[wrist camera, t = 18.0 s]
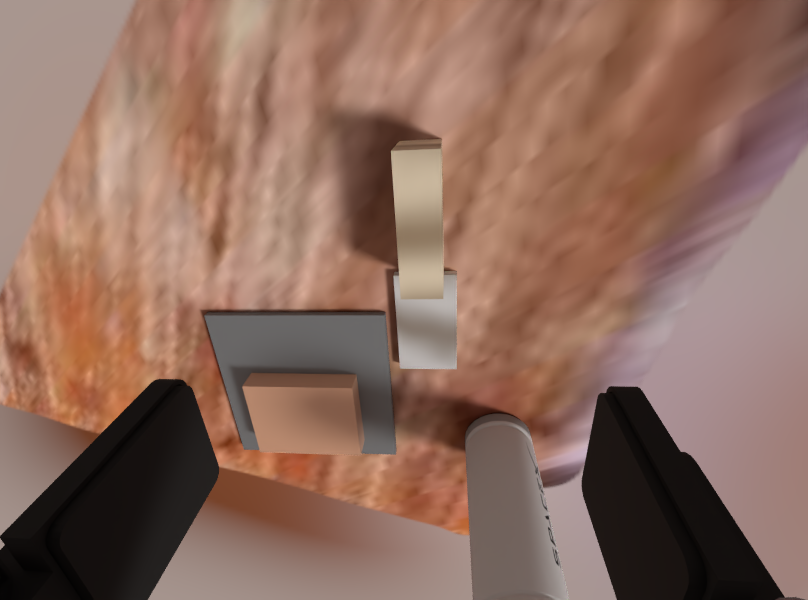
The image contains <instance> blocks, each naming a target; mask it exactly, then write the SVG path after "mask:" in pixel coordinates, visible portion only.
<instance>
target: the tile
mask: <svg viewBox="0 0 808 600" xmlns="http://www.w3.org/2000/svg"><path fill="white" fill-rule="evenodd" d="M242 388H243V391H244V395H245V399H246V402H247V406H248V409H249V413H250V417H251V420H252V424H253V428H254V431H255V435H256V439H257V442H258V446H259V449H260V452H274V453H303V454H332V455H361V453H362V449H363V445H364V440H365V439H364V431H363V423H362V415H361V407H360V399H359V391H358V383H357V375H356V374H294V373H251V374H250V376H249V377H248V378H247V380H246V381H245V383H244V384H243V386H242Z"/></svg>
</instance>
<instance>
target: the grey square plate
mask: <svg viewBox="0 0 808 600" xmlns="http://www.w3.org/2000/svg"><path fill="white" fill-rule="evenodd" d="M204 317H205V320H206V323H207V327H208V330H209V333H210V337H211V340H212V343H213V347H214V350H215V354H216V357H217V360H218V364H219V367H220V370H221V374H222V377H223V380H224V384H225V387H226V390H227V394H228V397H229V401H230V404H231V407H232V411H233V414H234V417H235V421H236V424H237V427H238V431H239V434H240V438H241V441H242V444H243V448H244V449H246V450H260V449H259V446H258V442H257V439H256V435H255V431H254V428H253V424H252V420H251V417H250V413H249V409H248V406H247V402H246V399H245V395H244V391H243V388H242V386H243V384H244V383H245V381H246V380H247V378H248V377H249V376H250V374H251V373H294V374H356V375H357V383H358V391H359V399H360V407H361V415H362V423H363V431H364V439H365V440H364V445H363V449H362V453H365V454H395V455H396V439H395V426H394V414H393V402H392V389H391V377H390V364H389V352H388V339H387V327H386V314H385V312H207V313H206V314H205V315H204Z"/></svg>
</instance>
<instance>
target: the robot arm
mask: <svg viewBox="0 0 808 600" xmlns="http://www.w3.org/2000/svg"><path fill="white" fill-rule="evenodd" d="M218 474H219V466H218V462H217V459H216V456H215V454H214V451H213V448H212V445H211V442H210V439H209V436H208V433H207V430H206V427H205V424H204V421H203V418H202V416H201V413H200V410H199V407H198V404H197V401H196V398H195V395H194V392H193V390H192V388H191V387H190V386H187V385H186V383H185V382H184V381H183V380H178V379H158V380H155V381H153V382H152V383H151V384H150V385H149V386H148V387H147V388H146V389H145V390H144V391H143V392H142V393H141V394H140V395H139V396H138V397H137V398H136V399H135V400H134V401H133V402H132V403H131V404H130V405H129V406H128V407H127V408H126V409H125V410H124V411H123V412H122V413H121V414H120V415H119V416H118V417H117V418H116V419H115V420H114V421H113V422H112V423H111V424H110V425H109V426H108V427H107V428H106V429H105V430H104V431H103V432H102V433H101V434H100V435H99V436H98V437H97V438H96V439H95V441H94V442H93V443H92V444H91V445H90V446H89V447H88V448H87V449H86V450H85V451H84V452H83V453H82V454H81V455H80V456H79V457H78V458H77V459H76V460H75V461H74V462H73V463H72V464H71V465H70V466H69V467H68V468H67V469H66V470H65V471H64V472H63V473H62V474H61V475H60V476H59V477H58V478H57V479H56V480H55V481H54V482H53V483H52V484H51V485H50V486H49V487H48V488H47V489H46V490H45V491H44V492H43V493H42V494H41V495H40V496H39V497H38V498H37V499H36V500H35V501H34V502H33V503H32V504H31V505H30V506H29V507H28V508H27V509H26V510H25V511H24V512H23V514H21V516H19V517H18V519H16V521H15V522H14V523H13V524H12V525H11V526H10V527H9V528H8V529H7V530H6V531H5V532H4V533H3V534H2V535H1V536H0V538H1V540H2V541H3V543H4V544H5V546H4V547H3V548H2V549H1V550H0V600H148V598H149V597H150V595H151V593H152V591H153V590H154V588H155V586H156V584H157V583H158V581H159V579H160V578H161V576H162V574H163V572H164V571H165V569H166V567H167V566H168V564H169V562H170V560H171V558H172V557H173V555H174V553H175V551H176V550H177V548H178V547H179V545H180V543H181V541H182V540H183V538H184V536H185V534H186V533H187V531H188V529H189V528H190V526H191V524H192V522H193V521H194V519H195V517H196V516H197V514H198V512H199V510H200V509H201V507H202V505H203V503H204V502H205V500H206V498H207V497H208V495H209V493H210V491H211V490H212V488H213V486H214V484H215V483H216V481H217V478H218ZM582 492H583V497H584V500H585V503H586V506H587V509H588V512H589V515H590V518H591V522H592V524H593V528H594V531H595V534H596V537H597V540H598V543H599V546H600V549H601V552H602V555H603V558H604V561H605V564H606V567H607V570H608V573H609V576H610V579H611V583H612V585H613V589H614V592H615V595H616V598H617V600H804V599H800V598H796V597H787V598H785V597H784V595H783V594H782V592H781V591H780V589H779V588H778V586H777V585H776V583H775V582H774V580H773V579H772V577H771V575H770V574H769V573H768V571H767V569H766V568H765V566H764V565H763V563H762V562H761V560H760V559H759V557H758V556H757V554H756V553H755V551H754V550H753V548H752V547H751V545H750V544H749V542H748V540H747V539H746V537H745V536H744V534H743V533H742V531H741V530H740V528H739V527H738V525H737V524H736V522H735V520H734V519H733V517H732V516H731V515H730V513H729V511H728V510H727V508H726V507H725V505H724V504H723V503H722V501H721V499H720V498H719V496H718V495H717V493H716V491H715V490H714V488H713V487H712V485H711V484H710V482H709V481H708V479H707V478H706V476H705V475H704V473H703V472H702V470H701V468H700V467H699V465H698V464H697V463H696V461H695V460H694V459H693V458H692V457H691V455H689V454H687V453H686V452H680V450H679V449H678V447H677V445H676V444H675V442H674V441H673V439H672V437H671V436H670V434H669V433H668V431H667V429H666V428H665V426H664V425H663V423H662V422H661V420H660V418H659V417H658V415H657V414H656V412H655V411H654V409H653V407H652V406H651V404H650V403H649V401H648V400H647V398H646V396H645V395H644V393H643V392H642V390H641V389H640V388H638V387H614V386H611V387H609V388H608V389H607V392H606V393H600V394H599V395H598V399H597V404H596V409H595V414H594V419H593V424H592V430H591V435H590V440H589V445H588V450H587V456H586V461H585V466H584V471H583V476H582Z"/></svg>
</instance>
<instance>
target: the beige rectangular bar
mask: <svg viewBox="0 0 808 600" xmlns="http://www.w3.org/2000/svg"><path fill="white" fill-rule="evenodd" d="M391 160H392V175H393V190H394V206H395V221H396V236H397V251H398V266H399V272H394V275H393V277H394V291H395V305H396V319H397V332H398V346H399V360H400V369H457V271H444V240H443V172H442V139H429V140H408V141H399V142H398V143H397V144H396V145H395V147H394V148H393V149H392V150H391Z"/></svg>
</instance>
